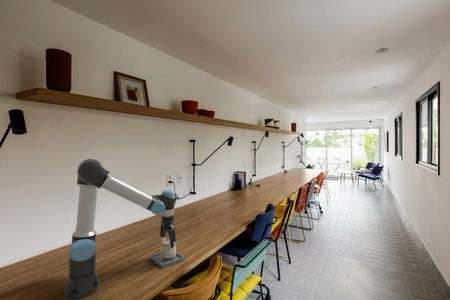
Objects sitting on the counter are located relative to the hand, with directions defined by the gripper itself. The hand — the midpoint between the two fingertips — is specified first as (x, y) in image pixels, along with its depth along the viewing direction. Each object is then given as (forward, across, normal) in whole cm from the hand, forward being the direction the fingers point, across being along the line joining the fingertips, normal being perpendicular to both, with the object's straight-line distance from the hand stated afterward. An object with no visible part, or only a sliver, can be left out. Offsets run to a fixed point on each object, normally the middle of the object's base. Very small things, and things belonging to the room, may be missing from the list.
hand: (167, 249), depth 158 cm
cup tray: (+6, 0, 0) cm, 6 cm away
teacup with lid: (+4, 0, 0) cm, 4 cm away
